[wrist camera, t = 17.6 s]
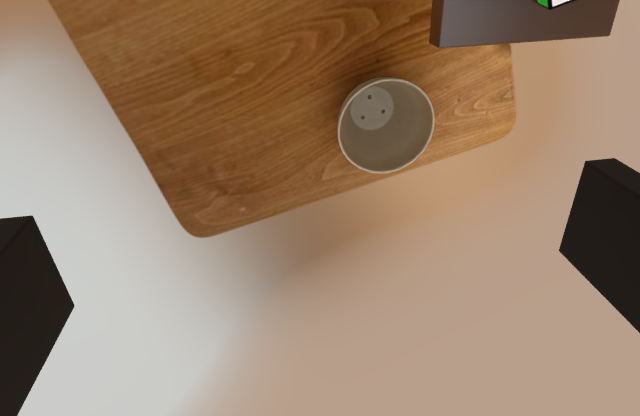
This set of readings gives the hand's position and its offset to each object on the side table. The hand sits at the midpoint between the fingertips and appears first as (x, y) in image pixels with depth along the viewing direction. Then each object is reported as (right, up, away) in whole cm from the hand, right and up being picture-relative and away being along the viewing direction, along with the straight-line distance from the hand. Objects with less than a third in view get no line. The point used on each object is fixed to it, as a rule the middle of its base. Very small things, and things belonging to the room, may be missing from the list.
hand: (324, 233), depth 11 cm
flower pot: (+6, +12, +39) cm, 41 cm away
